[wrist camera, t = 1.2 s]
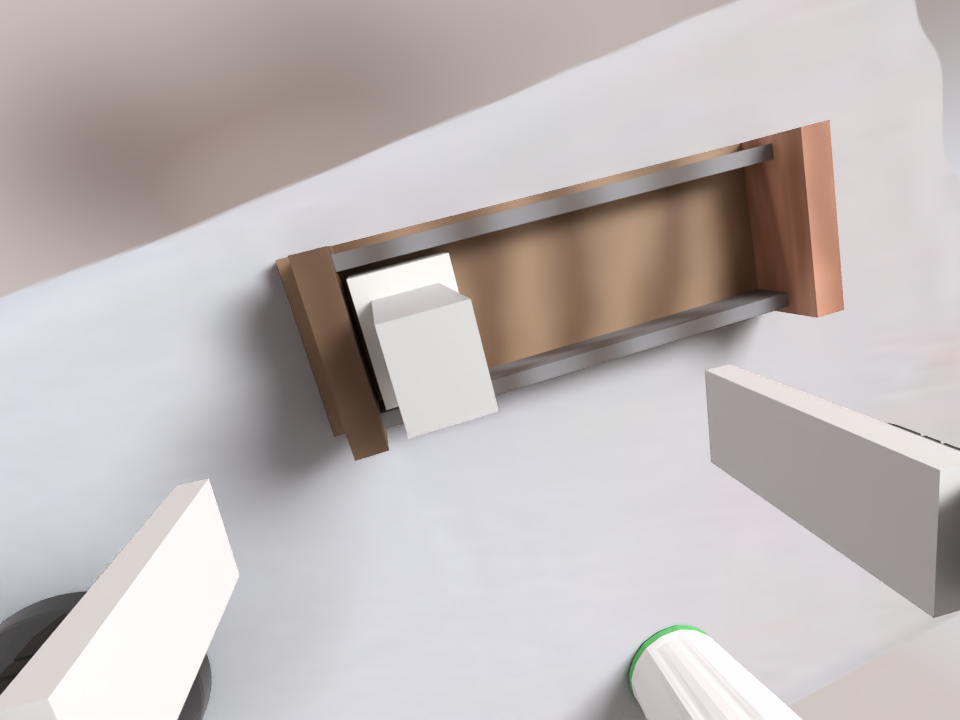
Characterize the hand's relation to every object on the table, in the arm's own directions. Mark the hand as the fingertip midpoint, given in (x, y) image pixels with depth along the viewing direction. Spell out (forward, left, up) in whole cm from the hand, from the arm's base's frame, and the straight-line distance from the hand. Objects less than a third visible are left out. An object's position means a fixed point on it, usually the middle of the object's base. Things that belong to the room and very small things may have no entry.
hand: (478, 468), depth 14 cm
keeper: (0, +1, -23) cm, 23 cm away
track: (+11, +1, -25) cm, 27 cm away
